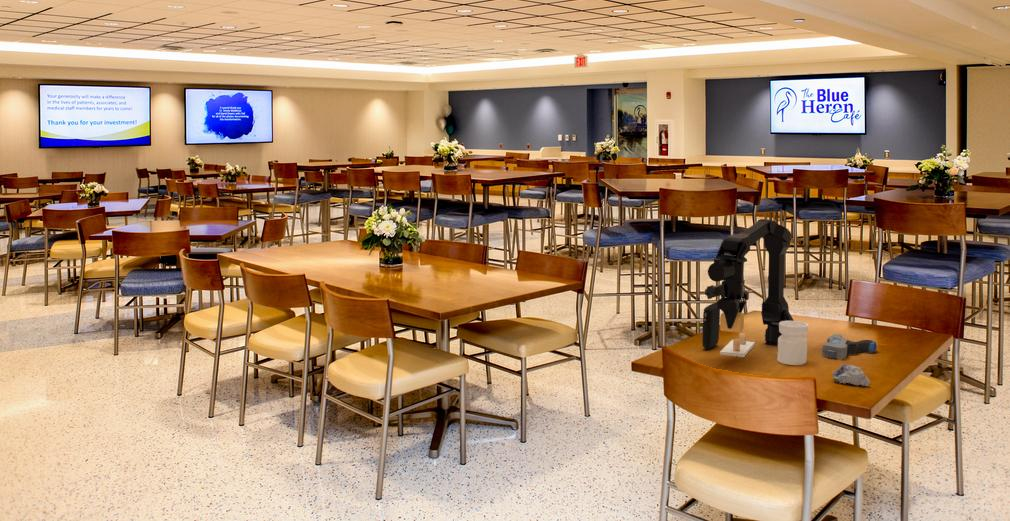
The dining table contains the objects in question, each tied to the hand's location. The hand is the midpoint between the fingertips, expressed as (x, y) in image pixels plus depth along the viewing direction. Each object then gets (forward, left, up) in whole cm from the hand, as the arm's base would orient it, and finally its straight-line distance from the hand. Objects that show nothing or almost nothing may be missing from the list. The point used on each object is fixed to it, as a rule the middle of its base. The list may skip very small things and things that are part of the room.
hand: (732, 326), depth 268 cm
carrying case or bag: (+9, -11, -11) cm, 18 cm away
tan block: (0, 0, -1) cm, 1 cm away
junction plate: (+1, -13, -11) cm, 17 cm away
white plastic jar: (-17, -7, -11) cm, 22 cm away
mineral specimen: (-36, +9, -11) cm, 39 cm away
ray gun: (-33, -24, -12) cm, 42 cm away
